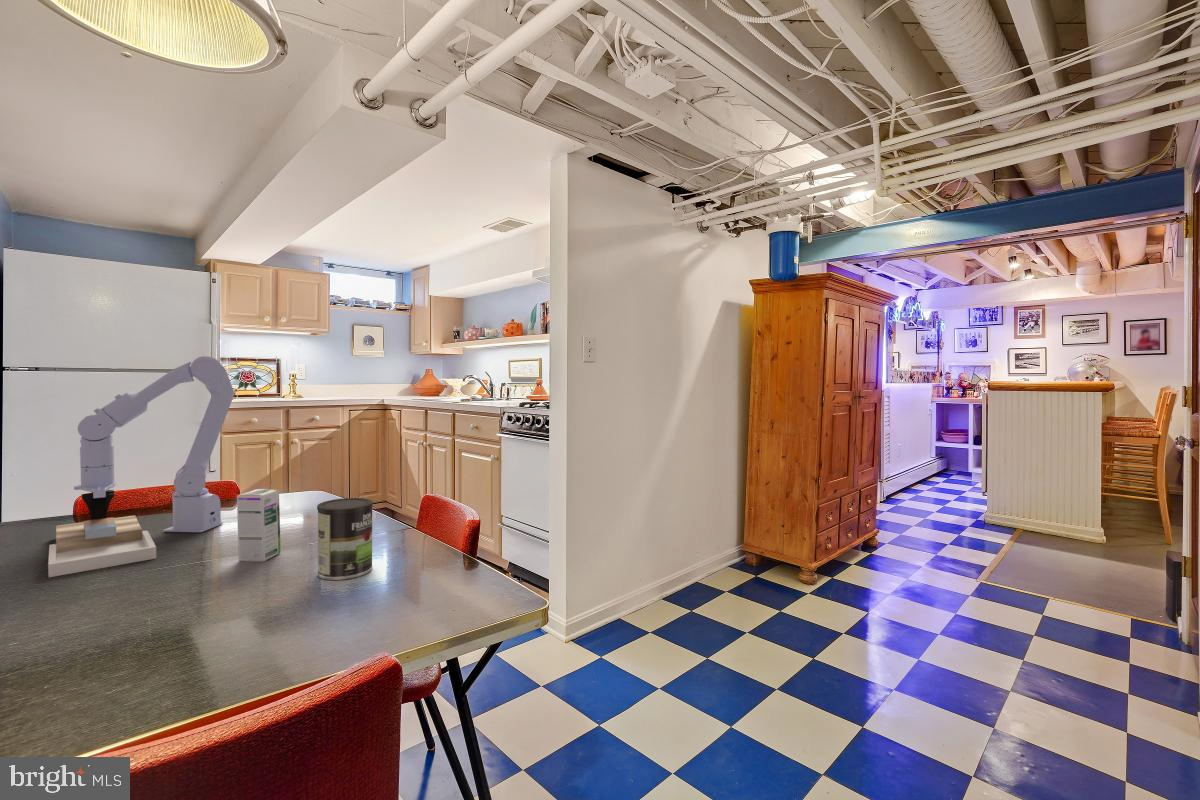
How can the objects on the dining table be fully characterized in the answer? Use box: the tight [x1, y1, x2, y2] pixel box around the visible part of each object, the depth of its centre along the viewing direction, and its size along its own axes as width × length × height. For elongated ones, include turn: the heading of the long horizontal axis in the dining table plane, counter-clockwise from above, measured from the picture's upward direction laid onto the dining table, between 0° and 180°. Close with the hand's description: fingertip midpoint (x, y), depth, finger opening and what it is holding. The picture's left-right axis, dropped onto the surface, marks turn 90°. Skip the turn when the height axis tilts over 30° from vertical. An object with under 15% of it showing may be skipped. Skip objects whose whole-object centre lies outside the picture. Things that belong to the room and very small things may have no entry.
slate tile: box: [85, 522, 116, 540], centre depth 119 cm, size 5×5×2 cm
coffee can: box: [316, 497, 374, 581], centre depth 109 cm, size 10×10×14 cm
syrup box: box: [236, 488, 282, 563], centre depth 115 cm, size 6×6×14 cm
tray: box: [47, 530, 157, 578], centre depth 113 cm, size 16×16×2 cm
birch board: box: [55, 515, 143, 553], centre depth 125 cm, size 16×14×3 cm
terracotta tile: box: [83, 516, 114, 535], centre depth 123 cm, size 5×5×2 cm
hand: (98, 522), depth 125 cm, fingers closed
